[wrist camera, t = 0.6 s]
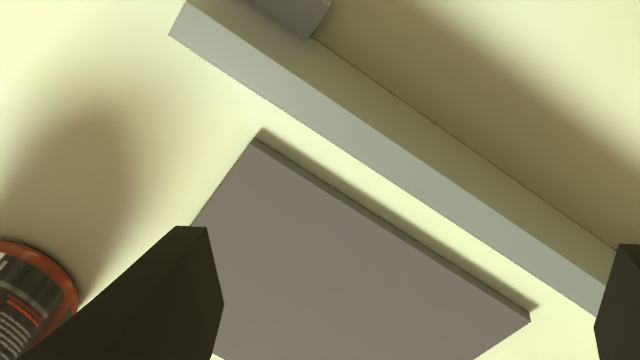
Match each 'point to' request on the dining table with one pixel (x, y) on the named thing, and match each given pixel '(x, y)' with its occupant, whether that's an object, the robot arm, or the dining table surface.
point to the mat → (335, 276)
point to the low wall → (392, 137)
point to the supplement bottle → (31, 298)
